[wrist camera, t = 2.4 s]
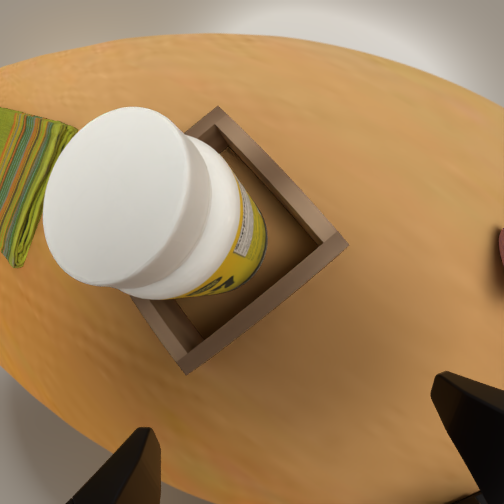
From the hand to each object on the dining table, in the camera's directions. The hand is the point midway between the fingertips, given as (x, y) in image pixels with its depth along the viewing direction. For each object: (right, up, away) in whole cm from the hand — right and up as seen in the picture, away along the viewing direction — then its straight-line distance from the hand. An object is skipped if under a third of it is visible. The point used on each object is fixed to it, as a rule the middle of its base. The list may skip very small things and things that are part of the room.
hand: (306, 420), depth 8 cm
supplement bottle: (-4, +6, +14) cm, 15 cm away
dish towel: (-37, +17, +22) cm, 46 cm away
